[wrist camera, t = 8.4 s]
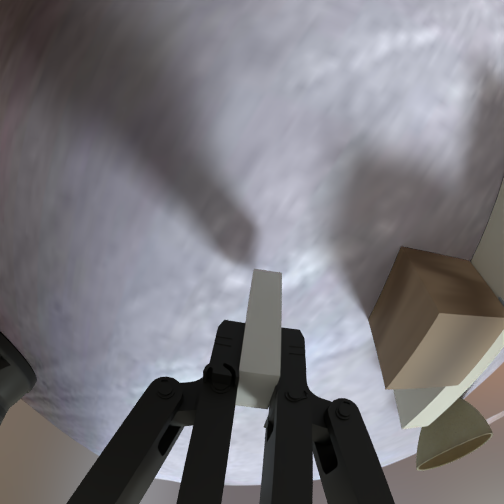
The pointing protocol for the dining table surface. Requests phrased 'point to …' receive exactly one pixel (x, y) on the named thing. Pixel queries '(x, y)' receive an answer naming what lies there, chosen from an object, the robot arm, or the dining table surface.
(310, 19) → the dining table surface
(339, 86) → the dining table surface
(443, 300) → the block
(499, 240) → the board
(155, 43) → the dining table surface
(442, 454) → the flower pot
